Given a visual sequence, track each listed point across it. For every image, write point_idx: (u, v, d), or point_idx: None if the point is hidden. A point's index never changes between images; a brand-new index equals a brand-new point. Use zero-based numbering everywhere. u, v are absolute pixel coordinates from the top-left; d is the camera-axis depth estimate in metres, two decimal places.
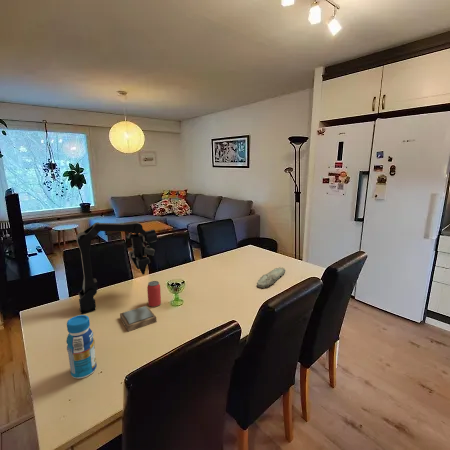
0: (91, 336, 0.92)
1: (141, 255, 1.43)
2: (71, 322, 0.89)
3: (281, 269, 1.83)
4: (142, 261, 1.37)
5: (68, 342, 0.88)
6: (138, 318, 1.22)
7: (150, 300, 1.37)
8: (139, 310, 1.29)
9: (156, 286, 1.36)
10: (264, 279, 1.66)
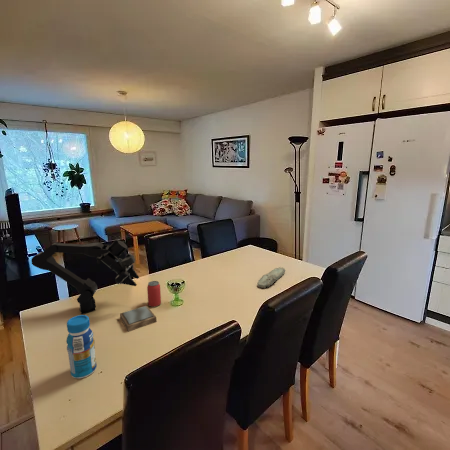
0: (91, 336, 0.92)
1: (121, 270, 1.31)
2: (71, 322, 0.89)
3: (281, 269, 1.83)
4: (118, 279, 1.25)
5: (68, 342, 0.88)
6: (138, 318, 1.22)
7: (150, 300, 1.37)
8: (139, 310, 1.29)
9: (156, 286, 1.36)
10: (264, 279, 1.66)
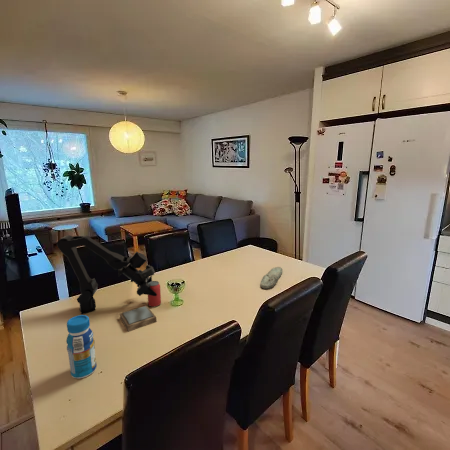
0: (91, 336, 0.92)
1: (141, 282, 1.34)
2: (71, 322, 0.89)
3: (279, 268, 1.84)
4: (139, 291, 1.28)
5: (68, 342, 0.88)
6: (138, 318, 1.22)
7: (150, 300, 1.37)
8: (139, 310, 1.29)
9: (156, 286, 1.36)
10: (267, 280, 1.65)
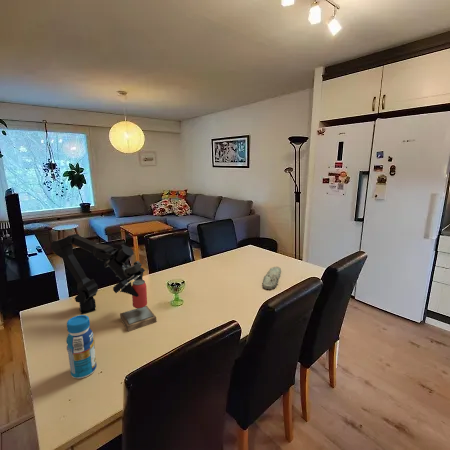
0: (91, 336, 0.92)
1: (124, 278, 1.22)
2: (71, 322, 0.89)
3: (277, 268, 1.85)
4: (115, 288, 1.16)
5: (68, 342, 0.88)
6: (138, 318, 1.22)
7: (133, 300, 1.23)
8: (139, 310, 1.29)
9: (139, 286, 1.21)
10: (268, 280, 1.64)
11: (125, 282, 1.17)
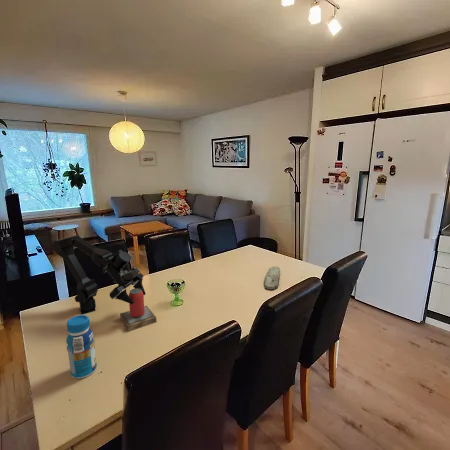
0: (91, 336, 0.92)
1: (121, 284, 1.21)
2: (71, 322, 0.89)
3: (276, 268, 1.85)
4: (111, 294, 1.15)
5: (68, 342, 0.88)
6: (138, 318, 1.22)
7: (130, 308, 1.22)
8: None
9: (135, 295, 1.20)
10: (270, 280, 1.64)
11: (121, 288, 1.16)
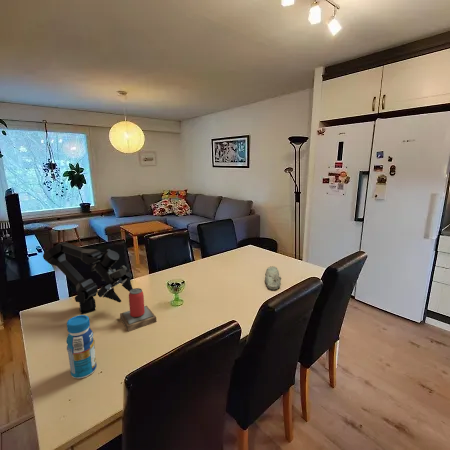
0: (91, 336, 0.92)
1: (109, 282, 1.23)
2: (71, 322, 0.89)
3: (274, 268, 1.85)
4: (99, 292, 1.17)
5: (68, 342, 0.88)
6: (138, 318, 1.22)
7: (130, 308, 1.22)
8: None
9: (135, 295, 1.20)
10: (271, 280, 1.64)
11: (109, 286, 1.18)
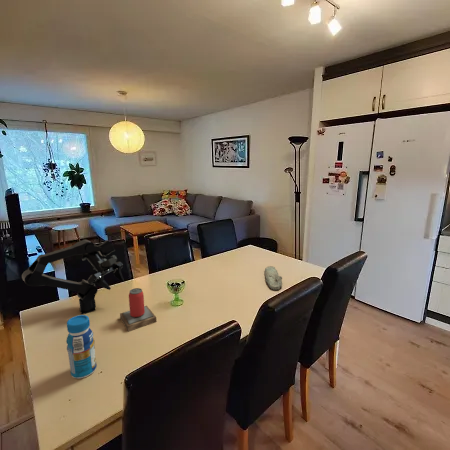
0: (91, 336, 0.92)
1: (100, 271, 1.30)
2: (71, 322, 0.89)
3: (272, 268, 1.86)
4: (89, 279, 1.24)
5: (68, 342, 0.88)
6: (138, 318, 1.22)
7: (130, 308, 1.22)
8: None
9: (135, 295, 1.20)
10: (273, 280, 1.64)
11: (98, 274, 1.25)
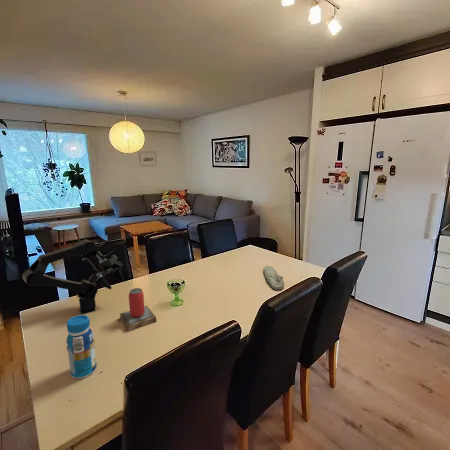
0: (91, 336, 0.92)
1: (100, 270, 1.30)
2: (71, 322, 0.89)
3: (270, 267, 1.86)
4: (90, 279, 1.24)
5: (68, 342, 0.88)
6: (138, 318, 1.22)
7: (130, 308, 1.22)
8: None
9: (135, 295, 1.20)
10: (274, 281, 1.64)
11: (100, 274, 1.25)
